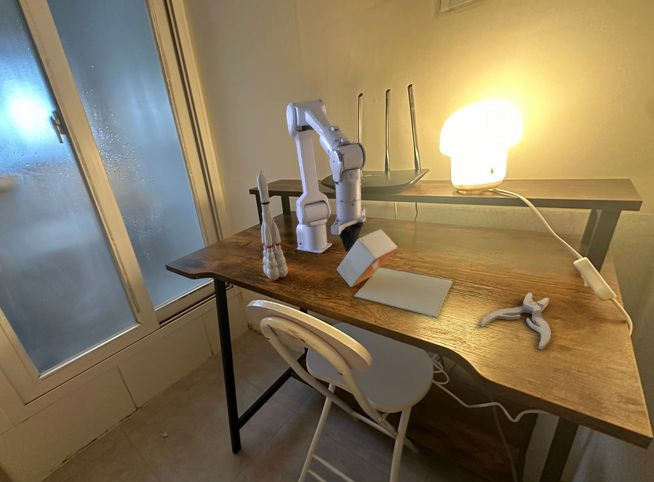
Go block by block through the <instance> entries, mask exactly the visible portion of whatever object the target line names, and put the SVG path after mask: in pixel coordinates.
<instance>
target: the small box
mask: <svg viewBox="0 0 654 482" xmlns="http://www.w3.org/2000/svg"><path fill="white" fill-rule="evenodd" d="M397 249H398V246H397V245H396V244H395V243H394V242H393V240H392V239H391V237H389V236H388V235H387V234H386V233H385V232H384V231H383V230H382V228H379V229H377V230H374V231H372V232H369V233H367V234H364V235H363V236H361V237H358V239H357V241H356V242H355V244H354V245H353V247H352V248H351V249H350V251H349V252H347V254H346V255H345V256H344V258H343V259H342V261H341V262H340V263H339V265H338V266H337V268H336V271H337V272H338V274H339V275H340V276H341V277H342V278H343V280H344V281H345V282H346V284H348V286H349V287H350V288H354V287H355V286H356V285H358V284H360V283H362V282H364V281H365V280H367V279H370V277H371V276H372V275H373V274H374V273H375V272H376V271H377V270H378V268H379V267H380V268H381V266H382V265H383V264H384V263H385V262H386V261H387V260H388V259H389V258H390V257H391V256H392V255H393V254H394V252H395V251H396V250H397Z"/></svg>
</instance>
